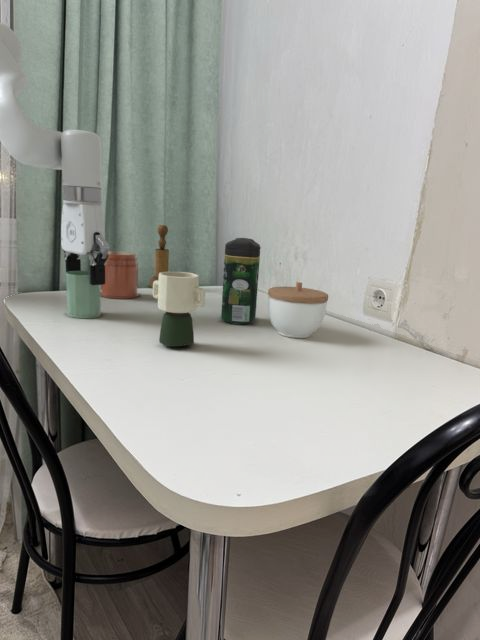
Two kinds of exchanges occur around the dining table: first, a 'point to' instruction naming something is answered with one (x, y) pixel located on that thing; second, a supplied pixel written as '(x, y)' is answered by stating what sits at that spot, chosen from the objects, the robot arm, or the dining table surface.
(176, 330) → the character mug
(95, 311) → the cup
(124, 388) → the dining table surface
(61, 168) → the robot arm
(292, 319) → the lidded bowl
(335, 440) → the dining table surface
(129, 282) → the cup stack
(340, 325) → the dining table surface
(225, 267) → the coffee jar
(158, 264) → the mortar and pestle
